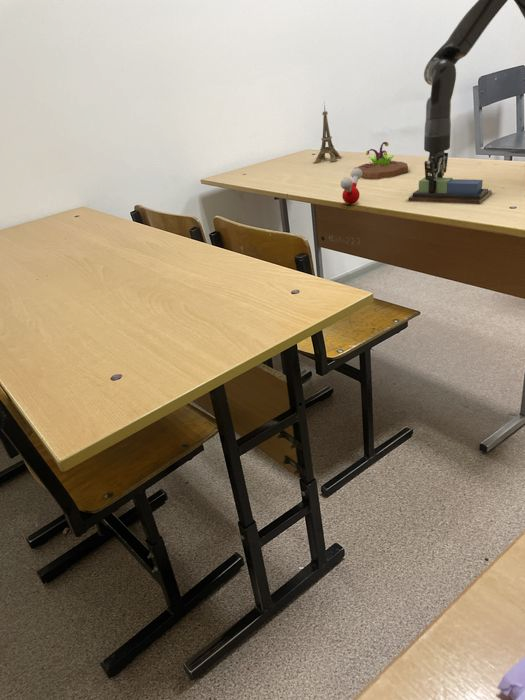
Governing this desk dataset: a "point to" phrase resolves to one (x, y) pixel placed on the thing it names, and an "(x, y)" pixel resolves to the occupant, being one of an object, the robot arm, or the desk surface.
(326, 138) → the eiffel tower
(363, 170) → the plant
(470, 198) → the dark wooden tray
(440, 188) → the green rectangular block
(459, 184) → the blue rectangular block
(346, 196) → the molecular model
